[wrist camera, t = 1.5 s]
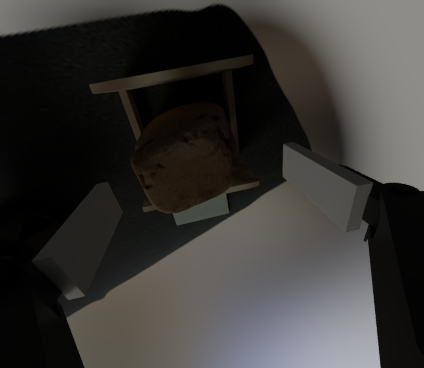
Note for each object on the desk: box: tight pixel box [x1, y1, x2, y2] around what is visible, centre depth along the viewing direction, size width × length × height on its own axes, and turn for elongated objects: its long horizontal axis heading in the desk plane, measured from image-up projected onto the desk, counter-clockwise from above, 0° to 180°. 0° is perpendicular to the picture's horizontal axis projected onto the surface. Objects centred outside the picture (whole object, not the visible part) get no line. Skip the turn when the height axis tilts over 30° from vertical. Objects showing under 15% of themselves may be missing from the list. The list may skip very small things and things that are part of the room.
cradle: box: [89, 54, 259, 212], centre depth 27 cm, size 16×16×12 cm
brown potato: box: [130, 101, 236, 213], centre depth 24 cm, size 11×8×20 cm
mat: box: [173, 194, 229, 225], centre depth 40 cm, size 12×11×1 cm
